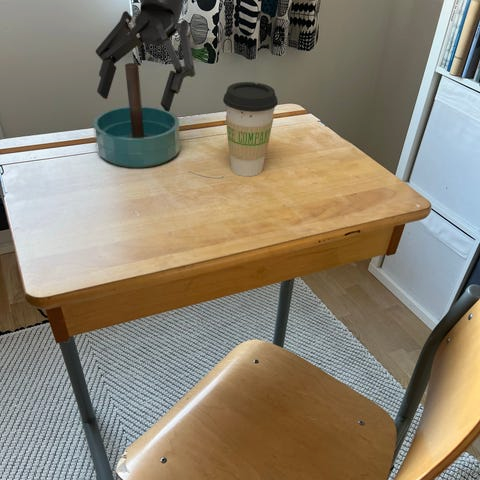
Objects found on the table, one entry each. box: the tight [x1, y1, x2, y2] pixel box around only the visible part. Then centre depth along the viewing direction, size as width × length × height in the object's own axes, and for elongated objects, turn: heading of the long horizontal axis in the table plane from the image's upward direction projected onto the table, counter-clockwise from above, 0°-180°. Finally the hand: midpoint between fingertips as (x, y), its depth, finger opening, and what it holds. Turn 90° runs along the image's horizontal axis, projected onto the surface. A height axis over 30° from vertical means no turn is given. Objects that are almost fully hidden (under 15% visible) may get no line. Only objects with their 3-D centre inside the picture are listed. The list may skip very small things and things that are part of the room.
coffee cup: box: [222, 81, 279, 177], centre depth 96 cm, size 10×10×15 cm
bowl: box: [92, 105, 181, 169], centre depth 103 cm, size 17×17×6 cm
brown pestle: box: [124, 62, 151, 138], centre depth 99 cm, size 6×6×16 cm
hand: (132, 101), depth 98 cm, fingers open, 13 cm apart
